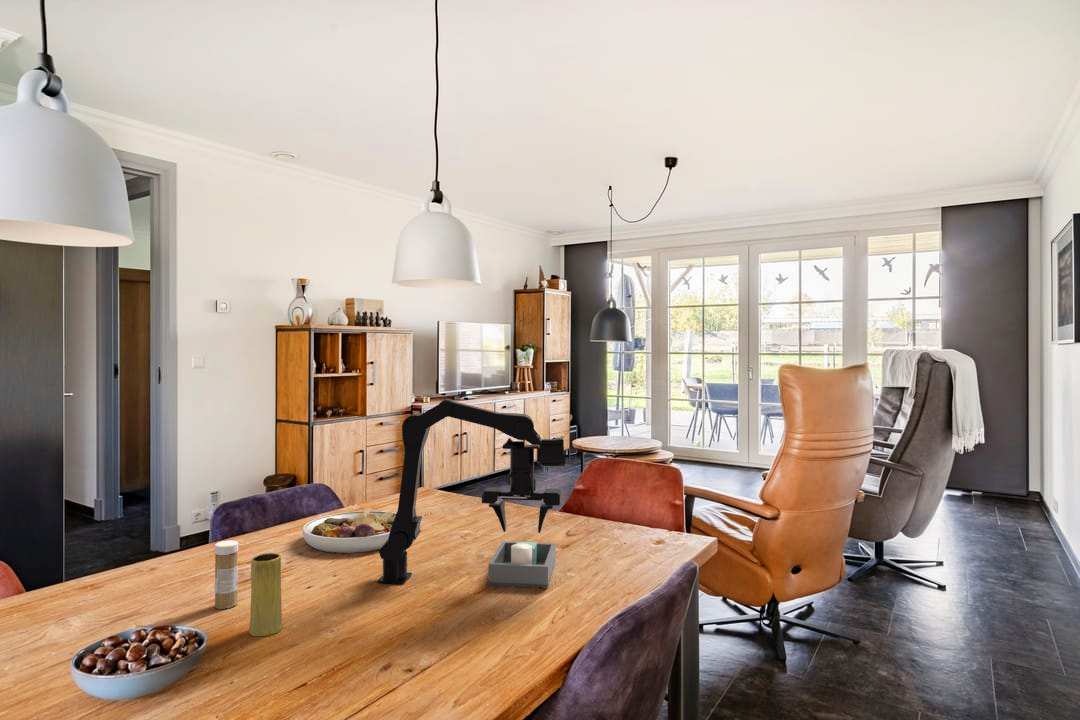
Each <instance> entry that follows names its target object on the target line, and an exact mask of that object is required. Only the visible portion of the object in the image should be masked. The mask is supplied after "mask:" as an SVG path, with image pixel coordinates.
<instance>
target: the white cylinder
mask: <svg viewBox="0 0 1080 720" xmlns="http://www.w3.org/2000/svg"><path fill="white" fill-rule="evenodd" d="M511 564H530V565H532V546H531V545H529V544H514V545H512V546H511Z"/></svg>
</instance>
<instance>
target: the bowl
mask: <svg viewBox="0 0 1080 720" xmlns="http://www.w3.org/2000/svg"><path fill="white" fill-rule="evenodd" d="M396 513H397V512H393V511H385V510H384V511H382V510H358V511H345V512H339V513H333V514H328V515H324V516H320V517H318V518H315V519H313V520H310V521H308V522H306V523H305V524H304V525H303V527H302V536H303V539H304V540H305V542H306V543H307V545H309V546H311V547H312V548H314V549H316V550H318V551H321V552H322V551H323V552H327V553H334V552H336V553H338V554H351V553H353V554H356V552H357V553H364V552H365V553H367V552H371V551H372V550H373V551H377V549H378V550H379V549H380V548H381V547H382V546H383V544H384V543H385V542H386V541H387V539H388V538H389V534H390V531H391V527H392V524H393V521H394V519H395V516H396ZM373 551H372V552H373ZM336 553H335V554H336Z"/></svg>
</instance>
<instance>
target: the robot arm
mask: <svg viewBox="0 0 1080 720" xmlns="http://www.w3.org/2000/svg"><path fill="white" fill-rule="evenodd" d="M447 417H449V418H452V419H457V420H461V421H465V422H468V423H473V424H476V425H480V426H484V427H488V428H491V429H494V430H497V431H499V432H500V433H503V434H504V435H507V436H509V437H508V438H507V440H506V442H504V443H503V444H502V446H501V447H502V450H509V453H510V454H509V456H510V457H509V462H510V463H509V472H508V475H507V476H508V477H507V485H508V486H509V491H503V490H502V489H503V488H502V487H496V486H495V487H494V486H493V487H492V486H491V487H488V486H487V488H486V489H485V490H484V491H483V492H482V493H481V504H487V505H488V507H489V508H492V510H493V511H494V512H495V514H496V516H497V519H498V521H499V524H500V525H501V528H502V531H503V532H504V533H506V531H507V519H506V518H507V517H506V511H505V509H506V507H505V505H506V504H505V503H506V501H507V500H508V501H509V500H510V501H514V500H515V501H541V504H540V506H539V514H538V524H537V525H538V526H537V531H538V534H541V532H542V528H543V525H544V522H545V519H546V515H547V513H548V511H549V510H552V509H554V507H555V506H561V503H562V500H563V492H562V490H561V489H559V488H545V489H544V491H543V492H537V490H536V489H537V478H536V476H535V450H536V463H538V464H539V465H540V466H541V468H565V467H566V453H565V443H564V441H565V440H564V438H561V437H560V438H541V435H540V434H539V433H538V432H537V431H536V430H535V424H534V421H533V418H532V417H531V416H530V415H527V414H526V413H516V412H515V413H514V412H499V411H493V410H491V409H486V408H483V407H478V406H474V405H472V404H471V405H470V404H466V403H463V402H458V401H455V400H453V399H451V398H449V399H448V398H445V399H443V400H442V401H440V402H439V403H438V404H436V405H435V406H433V407H431V408H430V409H428V410H426V411H425V412H423V413H422V412H416V413H413V414H411V415H409V416H407V417H406V418H405V419H404V420H403V422H402V425H401V435H402V443H403V445H402V446H403V450H404V456H403V465H402V472H401V481H400V489H399V498H398V506H397V511H396V512H395V513H396V516H395V519H394V521H393V524H392V527H391V531H390V534H389V538H388V539H387V541H386V542H385V543H384V544H383V546H382V547H381V548H380V549H378V554H379V556H380V559H382V575H381V576H380V577H379V578H378V579H377V581H376V582H377V583H379V584H397V585H398V584H399V585H403V584H405V583H406V582H407V581H408V580H409V579H410V578H411V576H412V575H413V573H412V572H409V571H408V551H407V550H408V549H409V548H410V547H411V546H412V545H413V543H414V542H415V540H416V539H417V538H418V536H419V535H420V533H421V532H422V531H421V523H422V519H423V516H422V515H417V511H416V505H417V497H418V490H419V489H418V488H419V482H420V472H421V465H422V456H423V451H424V448H425V445H426V443H427V440H428V436H429V435H430V431H431V427H432V426H434V425H435V424H438V423H439V422H440V421H443V420H444V419H446V418H447ZM512 438H514V439H515V440H516V441H515V440H513V439H512ZM525 441H526V442H528V443H529V444H526V443H525Z"/></svg>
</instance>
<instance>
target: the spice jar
mask: <svg viewBox="0 0 1080 720" xmlns="http://www.w3.org/2000/svg"><path fill="white" fill-rule="evenodd" d="M213 553H214V557H215V558H214V559H215V560H214V563H215V564H214V570H215V571H214V572H215V573H214V608H215V609H217V610H226V608H227V609H231V608H234V607H235V606H237V605H238V603H239V601H238V589H239V585H238V584H239V583H238V582H239V580H238V579H239V577H238V576H239V574H238V570H239V569H238V566H239V565H238V553H239V541H237V540H231V539H230V540H222V541H219V542H216V543H215V544H214V550H213ZM233 606H234V607H233Z"/></svg>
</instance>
